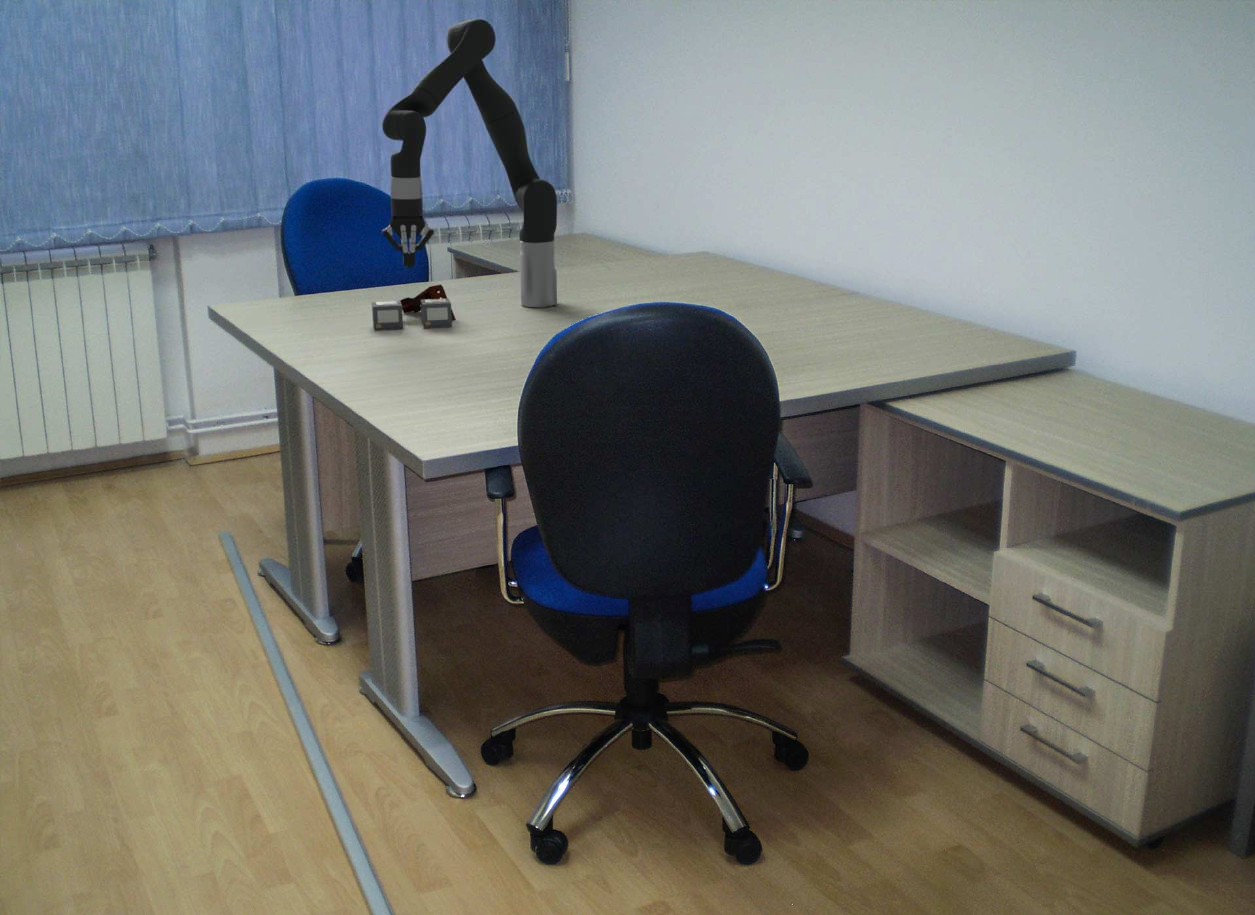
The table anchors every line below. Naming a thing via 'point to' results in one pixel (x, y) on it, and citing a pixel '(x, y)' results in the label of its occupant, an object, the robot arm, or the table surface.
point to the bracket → (429, 293)
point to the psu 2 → (436, 313)
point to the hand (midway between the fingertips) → (409, 267)
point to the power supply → (387, 315)
